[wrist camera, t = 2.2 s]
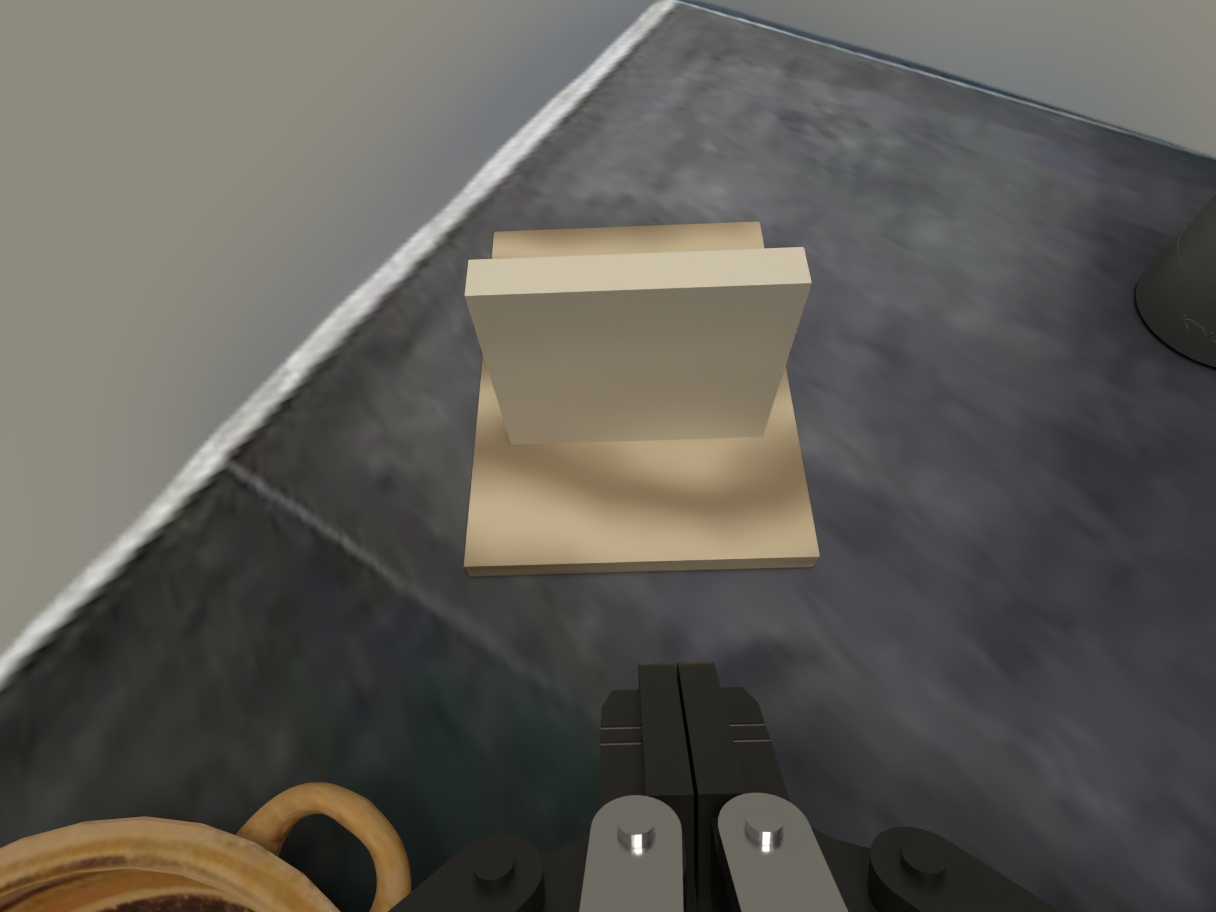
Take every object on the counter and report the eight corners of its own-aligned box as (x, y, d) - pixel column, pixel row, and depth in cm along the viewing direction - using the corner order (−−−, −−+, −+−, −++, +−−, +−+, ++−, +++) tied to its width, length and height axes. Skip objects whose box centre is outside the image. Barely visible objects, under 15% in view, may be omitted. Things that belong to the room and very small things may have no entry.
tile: (757, 404, 39) (803, 244, 28) (762, 436, 38) (811, 283, 27) (513, 412, 39) (469, 257, 29) (511, 445, 38) (464, 295, 28)
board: (498, 248, 48) (494, 231, 46) (756, 238, 47) (759, 221, 46) (470, 576, 36) (463, 566, 35) (813, 566, 36) (819, 556, 34)
